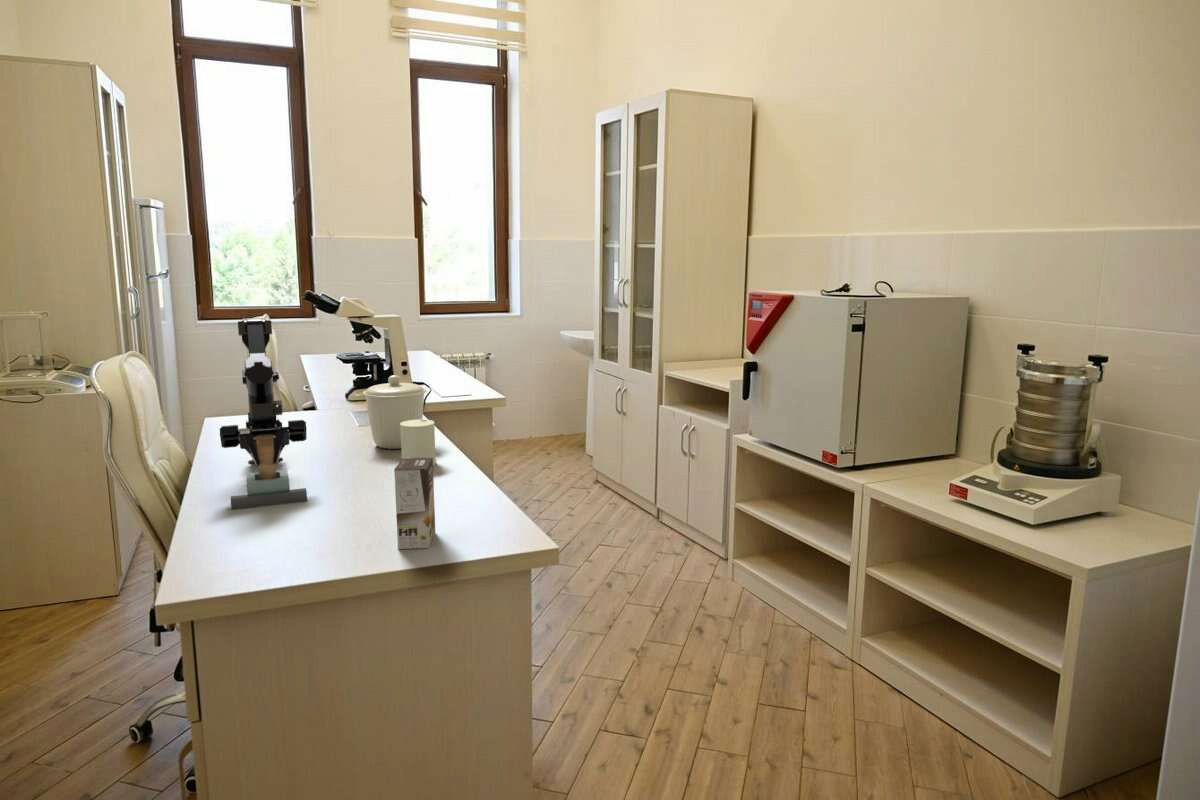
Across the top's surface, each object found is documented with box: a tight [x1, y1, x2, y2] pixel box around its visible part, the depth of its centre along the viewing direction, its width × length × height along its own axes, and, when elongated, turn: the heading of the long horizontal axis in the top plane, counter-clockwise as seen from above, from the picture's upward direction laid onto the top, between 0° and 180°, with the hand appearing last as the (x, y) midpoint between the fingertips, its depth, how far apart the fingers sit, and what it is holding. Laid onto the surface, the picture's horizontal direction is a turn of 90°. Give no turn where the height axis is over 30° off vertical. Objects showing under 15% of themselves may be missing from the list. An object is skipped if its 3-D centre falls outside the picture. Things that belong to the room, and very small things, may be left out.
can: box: [400, 418, 437, 467], centre depth 215 cm, size 9×9×12 cm
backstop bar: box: [230, 487, 308, 510], centre depth 182 cm, size 2×16×2 cm, turn 114°
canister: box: [362, 374, 427, 450], centre depth 236 cm, size 18×18×21 cm
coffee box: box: [393, 458, 436, 550], centre depth 158 cm, size 9×6×16 cm
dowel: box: [256, 434, 277, 480], centre depth 186 cm, size 4×4×13 cm
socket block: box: [246, 469, 291, 495], centre depth 188 cm, size 9×9×5 cm
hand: (266, 464), depth 184 cm, fingers closed on dowel, 4 cm apart
